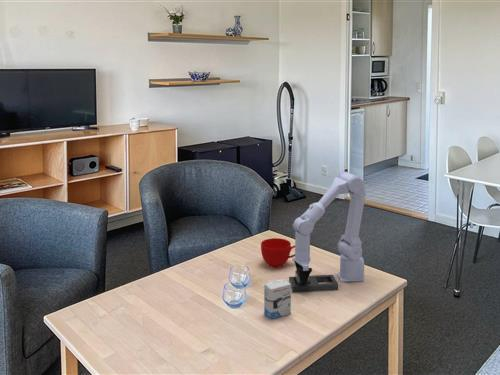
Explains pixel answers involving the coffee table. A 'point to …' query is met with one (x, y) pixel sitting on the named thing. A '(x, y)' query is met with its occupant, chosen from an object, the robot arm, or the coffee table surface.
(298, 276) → the block
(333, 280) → the dark grey double frame
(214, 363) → the coffee table surface
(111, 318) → the coffee table surface
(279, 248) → the ceramic cup
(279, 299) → the ink box
